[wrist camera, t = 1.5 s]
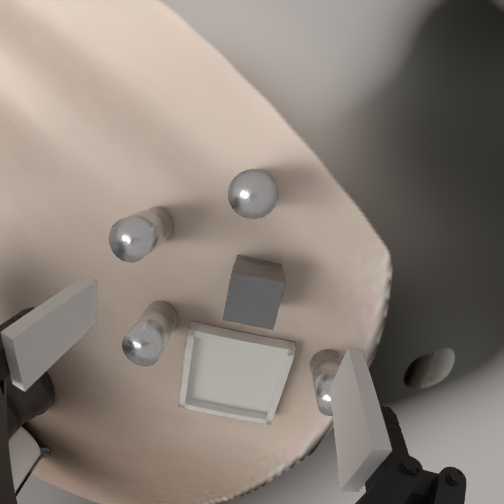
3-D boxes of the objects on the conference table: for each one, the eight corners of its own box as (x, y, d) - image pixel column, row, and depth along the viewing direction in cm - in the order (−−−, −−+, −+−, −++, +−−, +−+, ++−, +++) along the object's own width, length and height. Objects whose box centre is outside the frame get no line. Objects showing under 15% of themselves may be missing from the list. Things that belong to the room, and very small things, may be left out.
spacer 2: (176, 334, 38) (157, 370, 31) (146, 326, 38) (122, 360, 31) (179, 305, 37) (160, 338, 30) (148, 297, 37) (122, 328, 30)
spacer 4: (335, 377, 39) (346, 417, 31) (306, 373, 39) (313, 414, 31) (345, 352, 38) (360, 390, 30) (315, 347, 38) (325, 387, 30)
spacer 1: (170, 245, 36) (146, 266, 28) (138, 238, 36) (107, 257, 28) (176, 210, 35) (151, 222, 27) (142, 204, 35) (111, 214, 27)
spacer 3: (270, 210, 34) (272, 223, 26) (233, 203, 34) (223, 213, 26) (278, 173, 33) (282, 175, 25) (240, 165, 33) (233, 165, 25)
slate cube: (271, 305, 37) (273, 329, 31) (228, 296, 37) (222, 319, 31) (282, 264, 36) (285, 283, 30) (237, 254, 36) (231, 272, 30)
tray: (270, 415, 41) (270, 424, 39) (181, 397, 41) (178, 406, 39) (294, 342, 38) (296, 350, 36) (191, 321, 38) (188, 329, 36)
